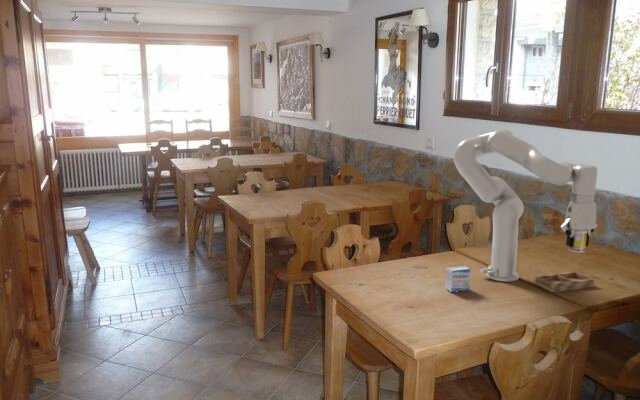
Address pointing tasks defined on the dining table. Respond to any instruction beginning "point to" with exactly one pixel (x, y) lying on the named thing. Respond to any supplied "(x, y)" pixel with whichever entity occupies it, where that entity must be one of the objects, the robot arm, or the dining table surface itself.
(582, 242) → the supplement bottle
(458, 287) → the medicine box
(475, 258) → the dining table surface
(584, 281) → the divided well tray
